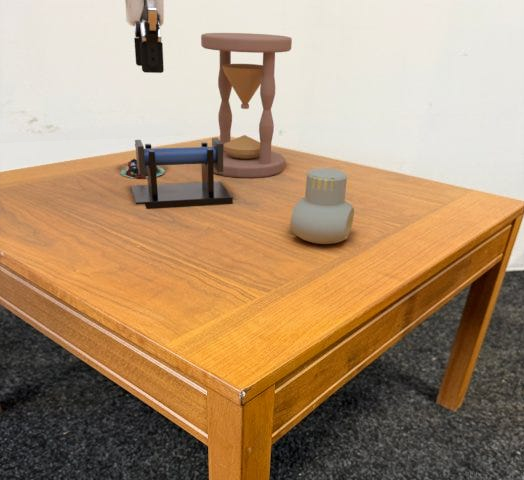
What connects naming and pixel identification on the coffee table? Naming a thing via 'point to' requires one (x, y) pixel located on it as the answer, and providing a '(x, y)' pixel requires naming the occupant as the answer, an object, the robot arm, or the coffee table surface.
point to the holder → (181, 188)
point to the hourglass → (247, 101)
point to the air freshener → (323, 208)
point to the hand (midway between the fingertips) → (149, 68)
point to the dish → (134, 172)
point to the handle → (179, 155)
